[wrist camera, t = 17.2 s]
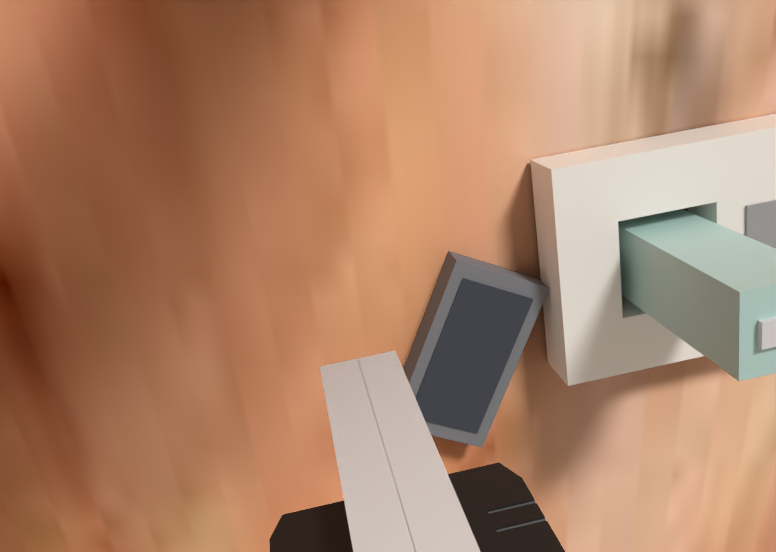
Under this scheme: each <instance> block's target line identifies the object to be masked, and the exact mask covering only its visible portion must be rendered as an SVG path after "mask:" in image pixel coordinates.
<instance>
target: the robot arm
mask: <svg viewBox="0 0 776 552" xmlns="http://www.w3.org/2000/svg"><path fill="white" fill-rule="evenodd" d="M320 370H321V376H322V382H323V387H324V393H325V398H326V404H327V409H328V415H329V420H330V426H331V431H332V437H333V442H334V448H335V453H336V459H337V465H338V470H339V476H340V481H341V487H342V492H343V498H344V501H340V502H336V503H332V504H327V505H323V506H319V507H314V508H310V509H306V510H301V511H297V512H293V513H288V514H284V515H282V517H281V519H280V521H279V522H278V524H277V526H276V528H275V530H274V532H273V534H272V536H271V538H270V552H565V551H564V549H563V547H562V546H561V544H560V542H559V541H558V539H557V537H556V535H555V534H554V532H553V530H552V529H551V527H550V525H549V524H548V522H547V521H545V517H544V515H543V513H542V512H541V510H540V508H539V506H538V505H537V503H536V504H535V501H534V498H533V496H532V494H531V493H530V491H529V489H528V488H527V486H526V484H525V483H524V481H523V479H522V478H521V477H520V476H518V475H517V474H515V473H514V472H512V471H511V470H509V469H508V468H506V467H505V466H503V465H502V464H500V463H495V464H491V465H486V466H482V467H478V468H473V469H469V470H465V471H460V472H456V473H452V474H447V471H446V469H445V467H444V464H443V462H442V460H441V457H440V455H439V452H438V450H437V448H436V445H435V443H434V441H433V438H432V436H431V434H430V431H429V429H428V427H427V424H426V422H425V419H424V417H423V415H422V412H421V410H420V408H419V405H418V403H417V401H416V398H415V396H414V393H413V391H412V389H411V386H410V384H409V382H408V379H407V377H406V375H405V372H404V370H403V368H402V365H401V363H400V360H399V358H398V356H397V353H396V351H391V352H386V353H382V354H377V355H372V356H367V357H363V358H358V359H353V360H348V361H344V362H339V363H334V364H329V365H325V366H320Z"/></svg>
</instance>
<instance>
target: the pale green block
mask: <svg viewBox="0 0 776 552" xmlns="http://www.w3.org/2000/svg"><path fill="white" fill-rule="evenodd" d="M618 231H619V251H620V272H621V293H622V296H623V297H625V298H626V299H627V300H629V301H630V302H631V303H633V304H634V305H635V306H637V307H638V308H640V309H641V310H642V311H644V312H645V313H646V314H648V315H649V316H651V317H652V318H653V319H655V320H656V321H657V322H659V323H660V324H661V325H663V326H664V327H666V328H667V329H668V330H670V331H671V332H672V333H674V334H675V335H676V336H678V337H679V338H681V339H682V340H683V341H685V342H686V343H687V344H689V345H690V346H691V347H693V348H694V349H696V350H697V351H698V352H700V353H701V354H702V355H704V356H705V357H706V358H708V359H709V360H711V361H712V362H713V363H715V364H716V365H717V366H719V367H720V368H721V369H723V370H724V371H726V372H727V373H728V374H730V375H731V376H732V377H734V378H735V379H737V380H738V381H742V380H747V379H751V378H755V377H760V376H764V375H769V374H773V373H776V249H775V248H773V247H771V246H768V245H766V244H764V243H761V242H759V241H757V240H754V239H752V238H749V237H747V236H745V235H742V234H740V233H738V232H735V231H733V230H731V229H728V228H726V227H723V226H721V225H719V224H716V223H714V222H712V221H709V220H707V219H705V218H702V217H700V216H698V215H695V214H693V213H690V212H688V211H686V210H683V209H679V210H674V211H669V212H664V213H659V214H654V215H649V216H644V217H638V218H633V219H628V220H623V221H618Z"/></svg>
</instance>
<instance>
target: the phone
mask: <svg viewBox="0 0 776 552" xmlns="http://www.w3.org/2000/svg"><path fill="white" fill-rule="evenodd" d="M548 290H549V288H548V287H547V286H546V285H545V284H544V283H543V282H541V281H540V280H539V279H538V278H535V277H532V276H529V275H526V274H522V273H519V272H516V271H513V270H509V269H506V268H503V267H499V266H496V265H493V264H490V263H486V262H483V261H480V260H477V259H473V258H470V257H467V256H463V255H460V254H457V253H454V252H450V251H448V253H447V256H446V259H445V261H444V264H443V267H442V269H441V272H440V274H439V277H438V280H437V282H436V285H435V288H434V290H433V293H432V295H431V298H430V301H429V303H428V306H427V309H426V311H425V314H424V316H423V319H422V322H421V324H420V327H419V330H418V332H417V335H416V337H415V340H414V343H413V345H412V348H411V351H410V353H409V356H408V358H407V361H406V364H405V366H404V369H403V370H404V372H405V375H406V377H407V379H408V382H409V384H410V386H411V389H412V391H413V393H414V396H415V398H416V401H417V403H418V405H419V408H420V410H421V412H422V415H423V417H424V419H425V422H426V424H427V427H428V429H429V431H430V434H431V436H436V437H440V438H444V439H448V440H453V441H457V442H461V443H465V444H470V445H474V446H478V447H482V446H483V444H484V441H485V439H486V437H487V434H488V432H489V430H490V427H491V425H492V423H493V420H494V418H495V415H496V413H497V411H498V408H499V406H500V404H501V401H502V399H503V397H504V394H505V392H506V389H507V387H508V385H509V382H510V380H511V378H512V375H513V373H514V371H515V368H516V366H517V364H518V361H519V359H520V356H521V354H522V352H523V349H524V347H525V345H526V342H527V340H528V338H529V335H530V333H531V330H532V328H533V326H534V323H535V321H536V319H537V316H538V314H539V312H540V309H541V307H542V305H543V302H544V300H545V297H546V295H547V293H548Z"/></svg>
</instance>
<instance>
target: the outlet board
mask: <svg viewBox="0 0 776 552" xmlns="http://www.w3.org/2000/svg"><path fill="white" fill-rule="evenodd" d="M530 163H531V174H532V186H533V197H534V209H535V220H536V232H537V243H538V255H539V266H540V278H541V282H543V283H544V284H545V285H546V286H547V287H548V288H549V290H548V293H547V295H546V297H545V300H544V302H543V312H544V324H545V335H546V347H547V358H548V364H549V365H550V366H551V367H552V368H553V369H554V370H555V372H556V373H557V374H558V375H559V376H560V377H561V379H562V380H563V381H564V382H565V383H566V384H567V385H568V386H571V385H575V384H580V383H585V382H589V381H594V380H598V379H603V378H607V377H612V376H616V375H621V374H625V373H630V372H634V371H639V370H643V369H648V368H652V367H657V366H661V365H666V364H670V363H675V362H679V361H684V360H688V359H693V358H697V357H702V356H704V355H702V354H701V353H700V352H698V351H697V350H696V349H694V348H693V347H691V346H690V345H689V344H687V343H686V342H685V341H683V340H682V339H681V338H679V337H678V336H676V335H675V334H674V333H672V332H671V331H670V330H668V329H667V328H666V327H664V326H663V325H661V324H660V323H659V322H657V321H656V320H655V319H653V318H652V317H651V316H649V315H648V314H646V313H645V312H644V311H642V310H641V309H640V308H638V307H637V306H635V305H634V304H633V303H631V302H630V301H629V300H627V299H626V298H625V297H623V296H622V293H621V272H620V251H619V231H618V221H623V220H628V219H633V218H638V217H644V216H649V215H654V214H659V213H664V212H669V211H674V210H679V209H683V210H686V211H688V212H690V213H693V214H695V215H698V216H700V217H702V218H705V219H707V220H709V221H712V222H714V223H716V224H719V225H721V226H723V227H726V228H728V229H731V230H733V231H735V232H738V233H740V234H742V235H745V236H747V237H749V238H752V239H754V240H757V241H759V242H761V243H764V244H766V245H768V246H771V247H773V248H775V249H776V114H772V115H766V116H761V117H756V118H750V119H745V120H740V121H734V122H729V123H724V124H718V125H713V126H708V127H702V128H697V129H691V130H686V131H681V132H675V133H670V134H665V135H659V136H654V137H649V138H643V139H638V140H632V141H627V142H622V143H616V144H611V145H606V146H600V147H595V148H590V149H584V150H579V151H573V152H568V153H563V154H557V155H552V156H547V157H541V158H536V159H531V160H530Z"/></svg>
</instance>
